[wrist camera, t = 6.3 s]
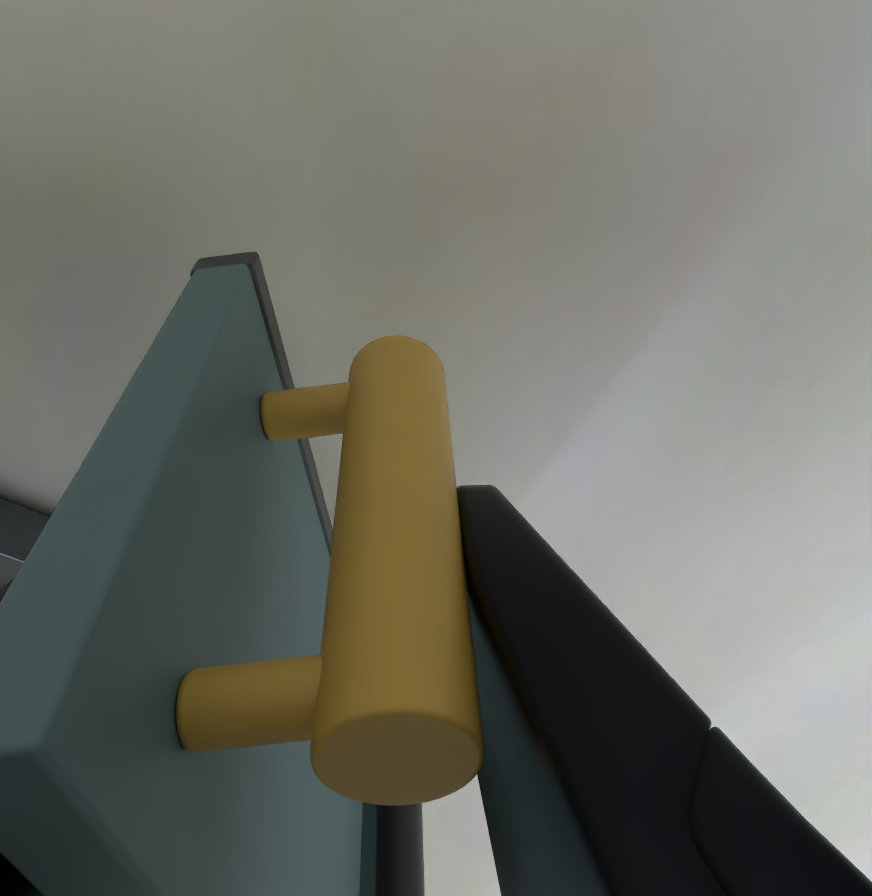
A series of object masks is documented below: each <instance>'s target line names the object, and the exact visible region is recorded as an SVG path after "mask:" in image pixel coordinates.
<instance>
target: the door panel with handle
mask: <svg viewBox="0 0 872 896" xmlns="http://www.w3.org/2000/svg"><path fill="white" fill-rule="evenodd" d="M190 276H191V278H190V280H189V282H188V283H187V285H186V287H185V288H184V290H183V292H182V293H181V295H180V297H179V299H178V300H177V302H176V304H175V305H174V307H173V309H172V311H171V312H170V314H169V316H168V317H167V319H166V321H165V322H164V324H163V326H162V328H161V329H160V331H159V333H158V334H157V336H156V338H155V340H154V341H153V343H152V345H151V346H150V348H149V350H148V351H147V353H146V355H145V357H144V358H143V360H142V362H141V363H140V365H139V367H138V369H137V370H136V372H135V374H134V375H133V377H132V379H131V380H130V382H129V384H128V386H127V387H126V389H125V391H124V392H123V394H122V396H121V398H120V399H119V401H118V403H117V404H116V406H115V408H114V410H113V411H112V413H111V415H110V416H109V418H108V420H107V421H106V423H105V425H104V427H103V428H102V430H101V432H100V433H99V435H98V437H97V439H96V440H95V442H94V444H93V445H92V447H91V449H90V450H89V452H88V454H87V456H86V457H85V459H84V461H83V462H82V464H81V466H80V468H79V469H78V471H77V473H76V474H75V476H74V478H73V479H72V481H71V483H70V485H69V486H68V488H67V490H66V491H65V493H64V495H63V497H62V498H61V500H60V502H59V503H58V505H57V507H56V509H55V510H54V512H53V514H52V515H51V517H50V519H49V520H48V522H47V524H46V526H45V527H44V529H43V531H42V532H41V534H40V536H39V538H38V539H37V541H36V543H35V544H34V546H33V548H32V549H31V551H30V553H29V555H28V556H27V558H26V560H25V561H24V563H23V565H22V567H21V568H20V570H19V572H18V573H17V575H16V577H15V578H14V580H13V582H12V584H11V585H10V587H9V589H8V590H7V592H6V594H5V596H4V597H3V599H2V601H1V602H0V853H1V854H2V855H3V856H4V857H5V858H6V859H7V860H8V861H9V862H10V863H11V864H12V865H13V866H14V867H15V868H16V869H17V870H18V871H19V872H20V873H21V874H22V875H23V876H24V877H25V878H26V879H27V880H28V881H29V882H30V883H31V884H32V885H33V886H35V887H36V888H37V889H38V890H39V891H40V892H41V893H42V894H43V895H44V896H359V888H360V861H361V835H362V808H363V802H364V803H370V804H377V805H410V804H417V803H423V802H428V801H432V800H435V799H439V798H441V797H444V796H447V795H449V794H451V793H453V792H455V791H457V790H459V789H460V788H462V787H464V786H465V785H466V784H467V783H469V782H470V781H471V780H472V779H473V778H474V777H475V776H476V774H477V773H478V771H479V770H480V767H481V765H482V763H483V759H484V755H485V746H484V737H483V728H482V719H481V709H480V700H479V691H478V682H477V673H476V663H475V654H474V645H473V636H472V626H471V617H470V608H469V599H468V590H467V580H466V571H465V562H464V553H463V543H462V534H461V526H460V517H459V508H458V498H457V488H456V479H455V470H454V460H453V451H452V442H451V433H450V423H449V414H448V405H447V396H446V386H445V377H444V370H443V366H442V363H441V361H440V359H439V358H438V356H437V355H436V353H435V352H434V351H433V350H432V349H431V348H430V347H428V346H427V345H426V344H424V343H422V342H421V341H418V340H416V339H414V338H410V337H406V336H388V337H383V338H380V339H377V340H375V341H373V342H371V343H369V344H368V345H366V346H365V347H364V348H362V349H361V350H360V352H359V353H358V354H357V355H356V357H355V358H354V360H353V362H352V365H351V368H350V373H349V382H348V383H340V384H331V385H323V386H315V387H306V388H298V389H295V388H294V384H293V380H292V376H291V373H290V369H289V365H288V361H287V358H286V354H285V350H284V346H283V343H282V339H281V335H280V332H279V328H278V324H277V320H276V317H275V313H274V309H273V305H272V302H271V298H270V294H269V290H268V287H267V283H266V279H265V275H264V272H263V268H262V264H261V261H260V257H259V255H258V253H257V252H247V253H239V254H231V255H223V256H215V257H207V258H200V259H198V260H197V262H196V263H195V265H194V267H193V268H192V270H191V272H190ZM341 433H343V440H342V450H341V460H340V469H339V479H338V489H337V498H336V508H335V517H334V527H333V530H332V526H331V522H330V518H329V515H328V511H327V507H326V503H325V500H324V496H323V492H322V488H321V485H320V481H319V477H318V473H317V470H316V466H315V462H314V459H313V455H312V451H311V447H310V444H309V440H308V437H316V436H324V435H333V434H341Z"/></svg>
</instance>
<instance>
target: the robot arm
mask: <svg viewBox="0 0 872 896" xmlns="http://www.w3.org/2000/svg"><path fill="white" fill-rule="evenodd" d="M457 498H458V508H459V517H460V526H461V534H462V543H463V553H464V562H465V571H466V580H467V590H468V599H469V608H470V617H471V626H472V636H473V645H474V654H475V663H476V673H477V682H478V691H479V700H480V709H481V719H482V728H483V737H484V746H485V755H484V759H483V763H482V765H481V767H480V770H479V771H478V773H477V775H478V780H479V785H480V790H481V795H482V800H483V806H484V811H485V816H486V821H487V826H488V831H489V836H490V841H491V846H492V851H493V856H494V861H495V866H496V871H497V876H498V881H499V886H500V891H501V896H872V882H871V881H870V880H869V879H868V878H867V877H866V876H865V875H864V874H863V873H862V872H861V871H860V870H859V869H858V868H856V867H855V866H854V865H853V864H852V863H851V862H850V861H849V860H848V859H847V858H846V857H845V856H844V855H843V854H842V853H841V852H840V851H839V850H838V849H836V848H835V847H834V846H833V845H832V844H831V843H830V842H829V841H828V840H827V839H826V838H825V837H824V836H823V835H822V834H821V833H820V832H819V831H817V830H816V829H815V828H814V827H813V826H812V825H811V824H810V823H809V822H808V821H807V820H806V819H805V818H804V817H803V816H802V815H801V814H800V813H799V812H798V811H797V810H796V809H795V808H794V807H793V806H792V805H791V804H790V803H789V801H788V800H787V799H786V798H785V797H784V796H783V795H782V794H781V793H780V792H779V791H778V790H777V789H776V788H775V787H774V786H773V785H772V784H771V783H770V782H769V781H768V780H767V779H766V778H765V777H764V776H763V775H762V774H761V773H760V772H759V771H758V769H757V768H756V767H755V766H754V765H753V764H752V763H751V762H750V761H749V760H748V759H747V758H746V757H745V756H744V755H743V754H742V753H741V751H740V750H739V749H738V748H737V747H736V746H735V745H734V744H733V743H732V742H731V741H730V740H729V738H728V737H727V736H726V735H725V734H724V733H723V732H722V731H721V730H720V729H719V728H718V727H712V728H711V729H710V726H711V720H710V718H709V717H708V716H707V715H706V714H705V713H704V712H703V711H702V710H701V709H700V708H699V706H698V705H697V704H696V703H695V702H694V701H693V700H692V699H691V698H690V697H689V696H688V695H687V694H686V692H685V691H684V690H683V689H682V688H681V687H680V686H679V685H678V684H677V683H676V682H675V681H674V679H673V678H672V677H671V676H670V675H669V674H668V673H667V672H666V671H665V670H664V669H663V668H662V666H661V665H660V664H659V663H658V662H657V661H656V660H655V659H654V658H653V657H652V656H651V655H650V653H649V652H648V651H647V650H646V649H645V648H644V647H643V646H642V645H641V644H640V643H639V642H638V640H637V639H636V638H635V637H634V636H633V635H632V634H631V633H630V632H629V631H628V630H627V629H626V628H625V626H624V625H623V624H622V623H621V622H620V621H619V620H618V619H617V618H616V617H615V616H614V615H613V613H612V612H611V611H610V610H609V609H608V608H607V607H606V606H605V605H604V604H603V603H602V602H601V600H600V599H599V598H598V597H597V596H596V595H595V594H594V593H593V592H592V591H591V590H590V589H589V587H588V586H587V585H586V584H585V583H584V582H583V581H582V580H581V579H580V578H579V577H578V576H577V575H576V573H575V572H574V571H573V570H572V569H571V568H570V567H569V566H568V565H567V564H566V563H565V562H564V560H563V559H562V558H561V557H560V556H559V555H558V554H557V553H556V552H555V551H554V550H553V549H552V547H551V546H550V545H549V544H548V543H547V542H546V541H545V540H544V539H543V538H542V537H541V536H540V534H539V533H538V532H537V531H536V530H535V529H534V528H533V527H532V526H531V525H530V524H529V523H528V521H527V520H526V519H525V518H524V517H523V516H522V515H521V514H520V513H519V512H518V511H517V510H516V509H515V507H514V506H513V505H512V504H511V503H510V502H509V501H508V500H507V499H506V498H505V497H504V496H503V494H502V493H501V492H500V491H499V490H498V489H497V488H496V487H494V486H492V485H463V486H459V487H457ZM15 577H16V576H15ZM15 577H14V578H15ZM14 578H13V579H12V580H10V581H9V582H8V583H6V584H5V585H4V586H3V587H1V588H0V602H1V601H2V599H3V597H4V596H5V594H6V592H7V590H8V589H9V587H10V585H11V584H12V582H13V580H14ZM0 896H44V895H43V894H42V893H41V892H40V891H39V890H38V889H37V888H36V887H35V886H33V885H32V884H31V883H30V882H29V881H28V880H27V879H26V878H25V877H24V876H23V875H22V874H21V873H20V872H19V871H18V870H17V869H16V868H15V867H14V866H13V865H12V864H11V863H10V862H9V861H8V860H7V859H6V858H5V857H4V856H3V855H2V854H1V853H0Z"/></svg>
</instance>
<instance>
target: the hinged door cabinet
mask: <svg viewBox="0 0 872 896" xmlns="http://www.w3.org/2000/svg"><path fill="white" fill-rule="evenodd" d="M359 896H425V895H424V862H423V828H422V803H417V804H410V805H377V804H370V803H364V802H363V808H362V835H361V861H360V888H359Z"/></svg>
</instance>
